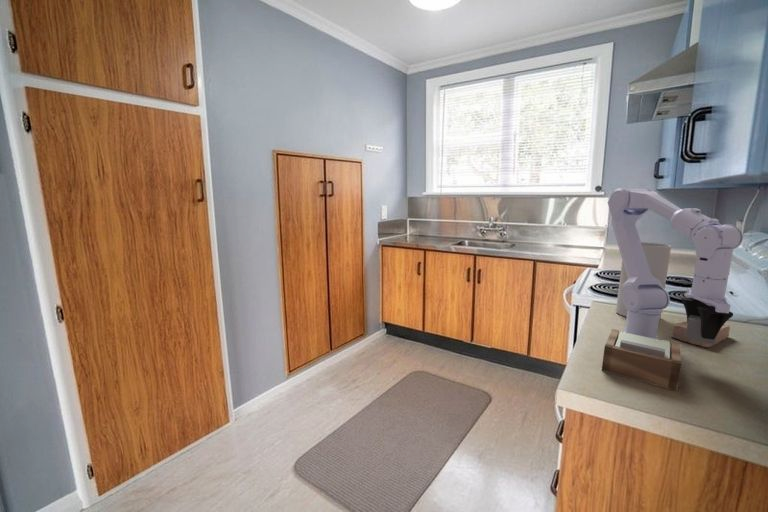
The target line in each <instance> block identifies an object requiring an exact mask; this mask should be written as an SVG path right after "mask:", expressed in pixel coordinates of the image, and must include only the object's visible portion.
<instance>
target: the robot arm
mask: <svg viewBox="0 0 768 512" xmlns="http://www.w3.org/2000/svg"><path fill="white" fill-rule="evenodd" d="M607 205H608V209H609V212H610V215H611V216H610V217H611V225H612V226H611V227H612V229H613V233H614V236H615V240H616V243H617V247H618V249H619V252H620V256H621V261H622V260H623V263H624V267H625V270H626V273H627V277H628V280H627V281H626V282H625V283H624V284H623V285H622V286H621V287H622V290H623V295H622V300H623V303H624V305H625V306H626V309H628V312H627V317H626V321H625V327H624V328H625V329H624V331H623V332H624V333H629V334H634V335H639V336H644V337H648V338H653V339H658V340H659V337H658V330H659V326H660V319H661V317H660V313H661V314H662V313H663V311H664V309H666V308H667V307H669V305H670V302H671V297H670V295H669V292H668V291H667V290H666V288H665V289H664V288H663V286H662V283H661V281H659V280H658V279H656V278H655V277H653V276H652V275H651V272H650V269H649V266H648V263H647V260H646V256H645V253H644V250H643V247H642V244H641V242H642V241H641V238H640V235H639V233H638V232H639V231H638V229H637V226H636V223H637V221H639V220H641V219H642V217H644V216H645V214H646V213H647V212H648V211H651V212H653V213H655V214H656V215H658V216H659V215H660V217H663V218H665V219H667V220H668V221H670V225H671V228H673V229H674V230H675V231H678V232H679V233H680V234H682V235H684V236H686V237H688V238H689V239H691V240H692V243H693V245H694V246H695V255H696V259H695V265H694V273H693V278H692V285H691V287H687V291H686V292H684V297H681V300H680V301H681V303H682V305H683V306H684V307H683V308H684V310H685V313H686V314H685V315H686V322H687V323H688V319H689V316H690V315H694V316H700V318H701V336H702V338H705V339H715V338H716V336H717V334H718V332H719V331H720V329H721V327H722V326H723V325H724V323H727V322H728V321H729V320H730V319H731V318H733V316H734V312H732V311H730V309H731V304H729V303H728V301H727V299H726V296H725V295H726V290H727V285H728V279H729V277H730V276H729V275H730V269H731V266H732V265H731V263H732V259H733V253H734V249H736V248H738V247H739V246H740V245H742V242H743V238H744V235H743V232H742V231H741V229H740V228H738V227H737V226H736V225H735V224H731V223H730V224H729V223H725V224H721V223H720V222H719V221H720V220H719V219H717V218H711V217H709V216H707V215H705V214H703V213H701V212H702V210H701V209H699V208H697V207H695V208H693V207H691V208H689V207H687V208H680V207H678V206H677V205H675V204H674V203H672V202H671V201H669V200H667V199H665V198H664V197H663V196H661V195H659V194H658V192H657V191H653V190H652V189H650V188H623V187H621V188H619V187H618V188H616V189H615V190H614V191H612V192H611V195H610V196H609V199H608V201H607ZM659 318H660V319H659Z"/></svg>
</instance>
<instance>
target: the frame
mask: <svg viewBox="0 0 768 512" xmlns="http://www.w3.org/2000/svg"><path fill="white" fill-rule="evenodd" d="M619 334H620V330H619V329H614V328H612V329H611V331H610V333H609V336H608V338H607V340H606V343H605V345H604V348H603V358H602V364H601V365H602V366H601V371H603V372H606V373H611V374H613V375H618V376H620V377H626V378H628V379H632V380H635V381H639V382H643V383H646V384H647V383H648V384H651V385H654V386H658V387H661V388H665V389H669V390H673V391H676V392H677V391H678V387H679V383H680V382H679V380H680V374H681V370H682V369H681V368H682V357H681V343H680V342H678V341H674V340H673V341H671V342H670V359H668V358H663V357H659V356H655V355H650V354H646V353H642V352H637V351H633V350H629V349H625V348H620V347H616V346H615V345H616V342H617V340H618V337H619Z"/></svg>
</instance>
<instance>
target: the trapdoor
mask: <svg viewBox="0 0 768 512" xmlns="http://www.w3.org/2000/svg"><path fill="white" fill-rule="evenodd" d="M615 346H616V347H620V348H625V349H629V350H633V351H637V352H642V353H646V354H650V355H655V356H659V357H663V358H668V359H670V347H671V342H670V341H668V340H661V339H659V338H658V339H653V338H648V337H644V336H639V335H634V334H629V333H624V331H619V335H618V340H617V342H616V345H615Z"/></svg>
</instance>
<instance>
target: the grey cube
mask: <svg viewBox="0 0 768 512" xmlns="http://www.w3.org/2000/svg"><path fill="white" fill-rule="evenodd" d="M685 338H686V339H690V340H695V341H699V342H704V343H708V344H713V345H714V343H715V339H705V338H702V336H701V318H700V316H694V315H690V316H689V319H688V324H687V330H686V336H685ZM714 346H715V345H714Z"/></svg>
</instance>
